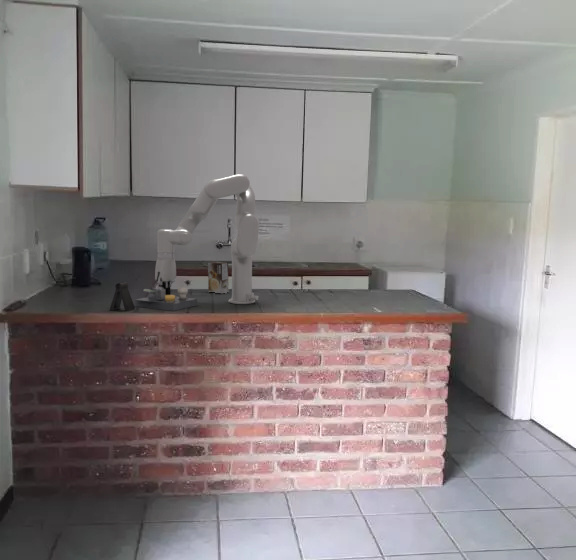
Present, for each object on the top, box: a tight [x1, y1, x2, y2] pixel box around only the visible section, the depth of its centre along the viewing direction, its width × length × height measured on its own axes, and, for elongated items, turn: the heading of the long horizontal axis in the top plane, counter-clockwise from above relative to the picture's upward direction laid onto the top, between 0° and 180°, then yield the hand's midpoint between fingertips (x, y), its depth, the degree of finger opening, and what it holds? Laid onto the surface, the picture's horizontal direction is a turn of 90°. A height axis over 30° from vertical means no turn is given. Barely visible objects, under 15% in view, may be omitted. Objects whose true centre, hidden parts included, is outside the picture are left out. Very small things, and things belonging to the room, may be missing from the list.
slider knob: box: [155, 286, 165, 299], centre depth 268 cm, size 3×3×5 cm
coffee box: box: [207, 261, 229, 294], centre depth 309 cm, size 9×6×16 cm
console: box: [134, 293, 198, 312], centre depth 270 cm, size 22×17×4 cm
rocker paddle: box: [143, 288, 156, 295], centre depth 273 cm, size 5×9×2 cm, turn 152°
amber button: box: [165, 294, 176, 303], centre depth 263 cm, size 4×4×5 cm
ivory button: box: [177, 287, 189, 300], centre depth 271 cm, size 4×4×5 cm
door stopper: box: [109, 281, 136, 312], centre depth 259 cm, size 9×6×12 cm, turn 78°
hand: (166, 295), depth 272 cm, fingers closed
